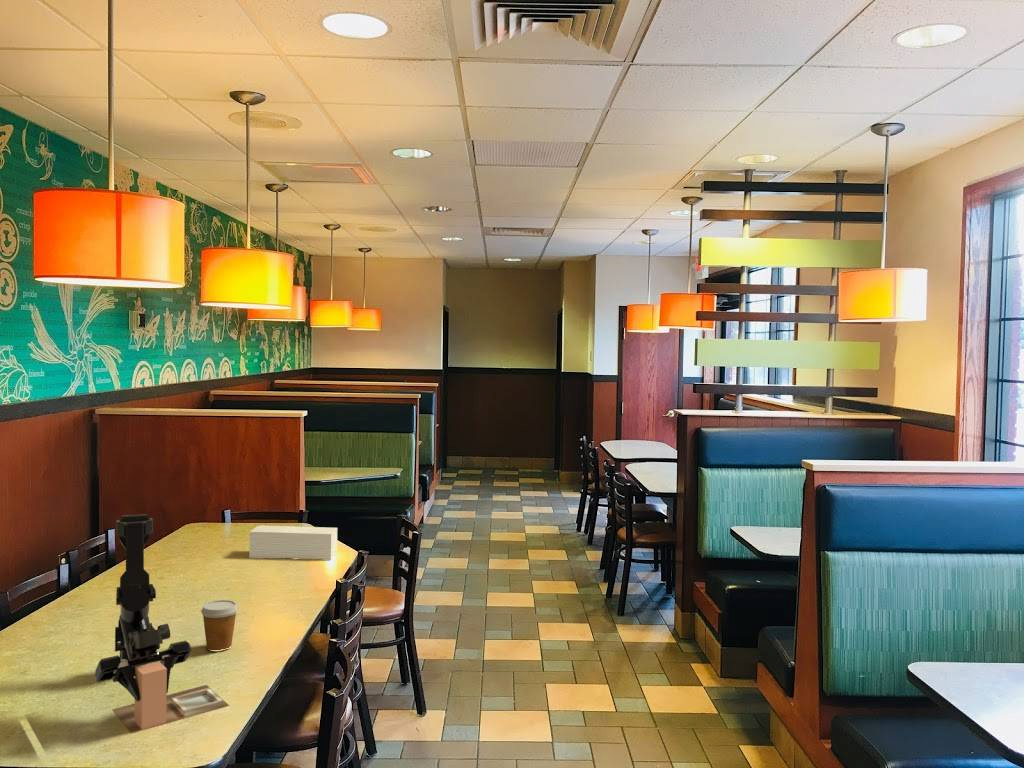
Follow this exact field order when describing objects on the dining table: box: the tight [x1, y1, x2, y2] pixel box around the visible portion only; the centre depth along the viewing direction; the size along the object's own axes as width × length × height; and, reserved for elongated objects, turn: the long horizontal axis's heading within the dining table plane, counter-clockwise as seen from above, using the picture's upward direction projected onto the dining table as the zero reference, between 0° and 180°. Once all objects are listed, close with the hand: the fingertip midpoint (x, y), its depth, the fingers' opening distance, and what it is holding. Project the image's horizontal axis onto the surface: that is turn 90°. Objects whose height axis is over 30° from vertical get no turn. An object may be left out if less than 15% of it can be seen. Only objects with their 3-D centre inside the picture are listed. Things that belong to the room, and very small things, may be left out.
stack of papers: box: [248, 525, 338, 561], centre depth 312 cm, size 32×11×11 cm, turn 90°
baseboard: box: [112, 684, 230, 734], centre depth 177 cm, size 14×21×2 cm, turn 132°
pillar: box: [134, 661, 168, 731], centre depth 170 cm, size 5×5×12 cm
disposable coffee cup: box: [200, 599, 239, 650], centre depth 215 cm, size 10×10×12 cm
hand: (152, 696), depth 169 cm, fingers open, 5 cm apart
